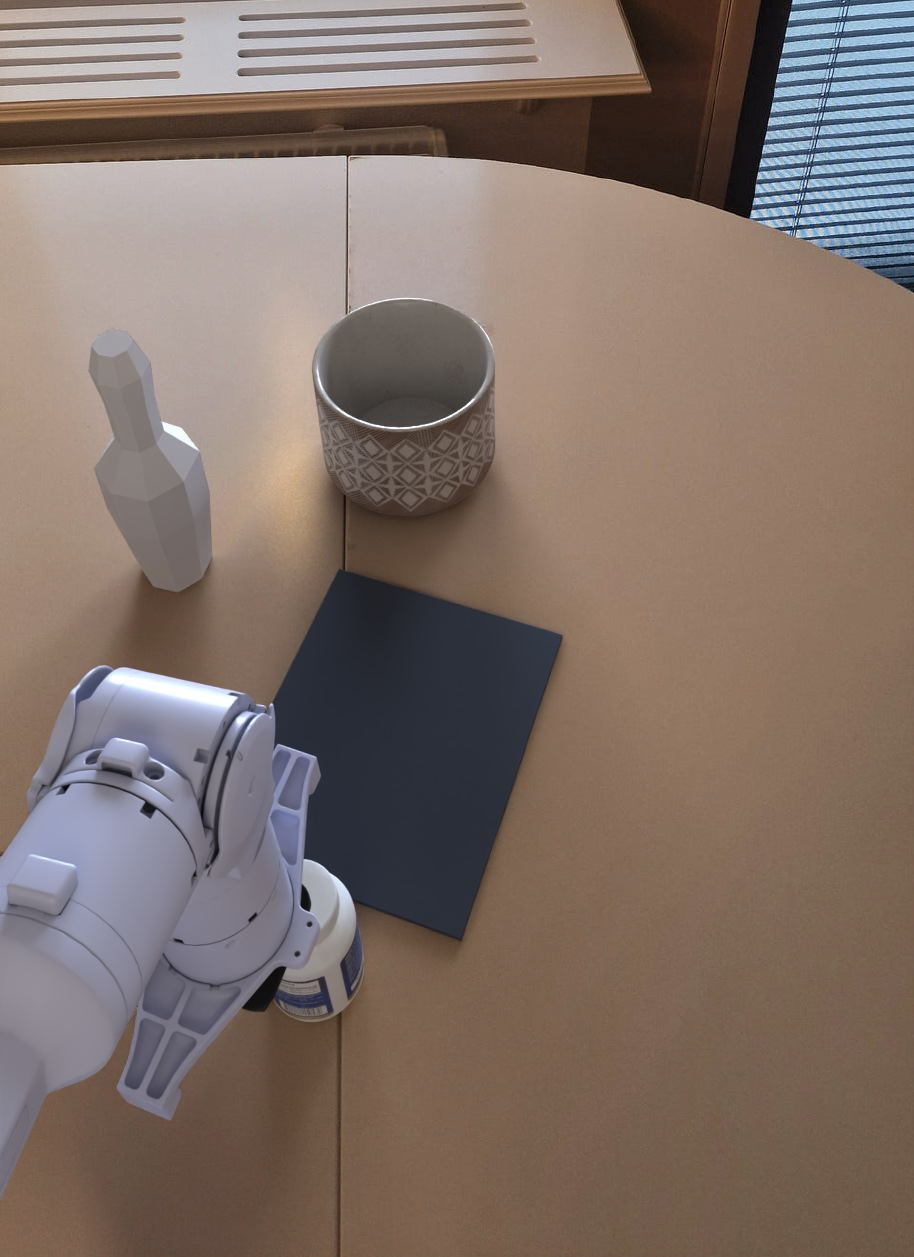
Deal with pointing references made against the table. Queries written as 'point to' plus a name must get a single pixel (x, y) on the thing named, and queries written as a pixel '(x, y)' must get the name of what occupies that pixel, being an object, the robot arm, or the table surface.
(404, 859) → the mat
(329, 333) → the planter
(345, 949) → the pill bottle
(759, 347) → the table surface
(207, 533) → the faceted bottle
